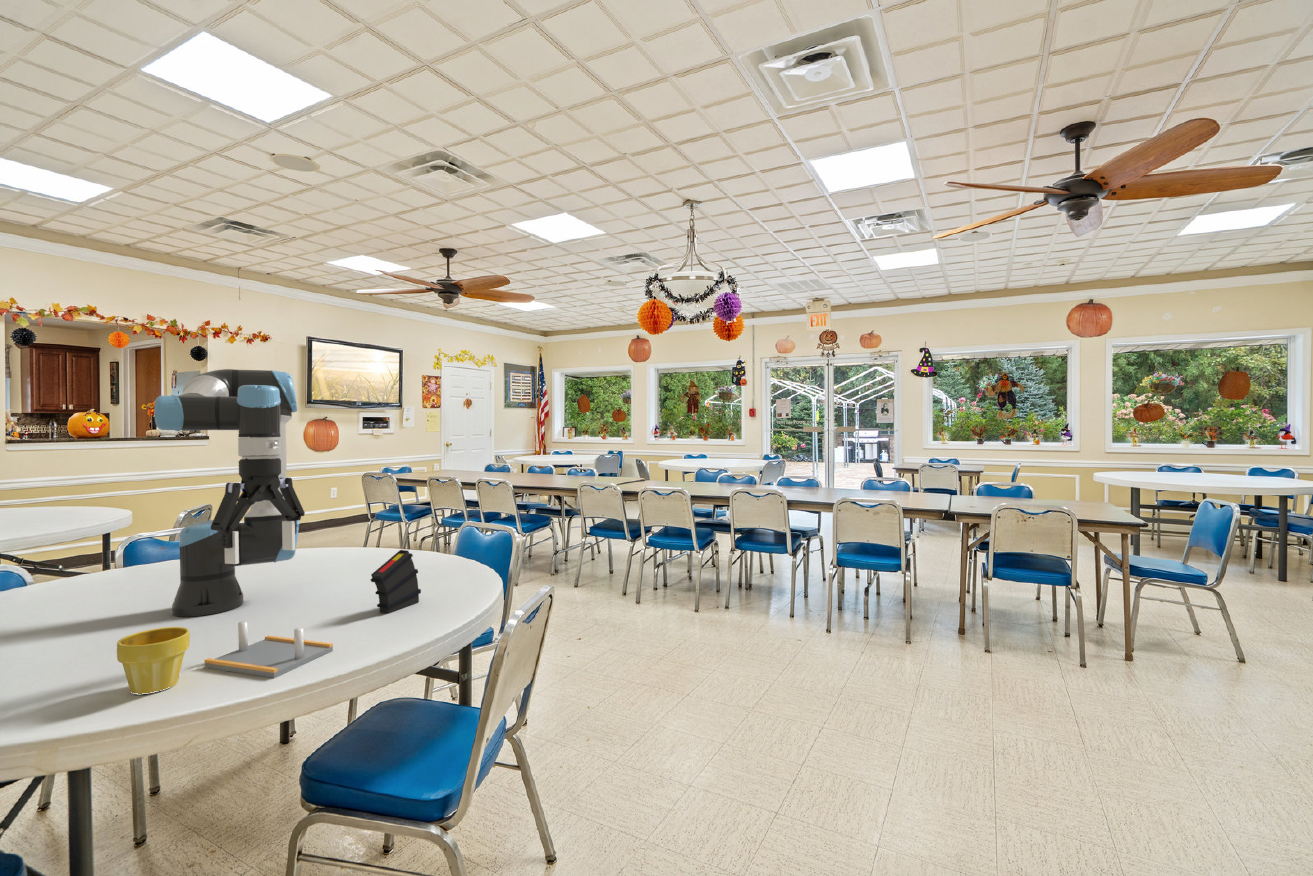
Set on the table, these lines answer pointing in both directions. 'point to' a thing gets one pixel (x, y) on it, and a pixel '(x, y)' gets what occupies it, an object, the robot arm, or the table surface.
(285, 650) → the tray
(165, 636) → the plant pot
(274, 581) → the table surface
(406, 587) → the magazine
